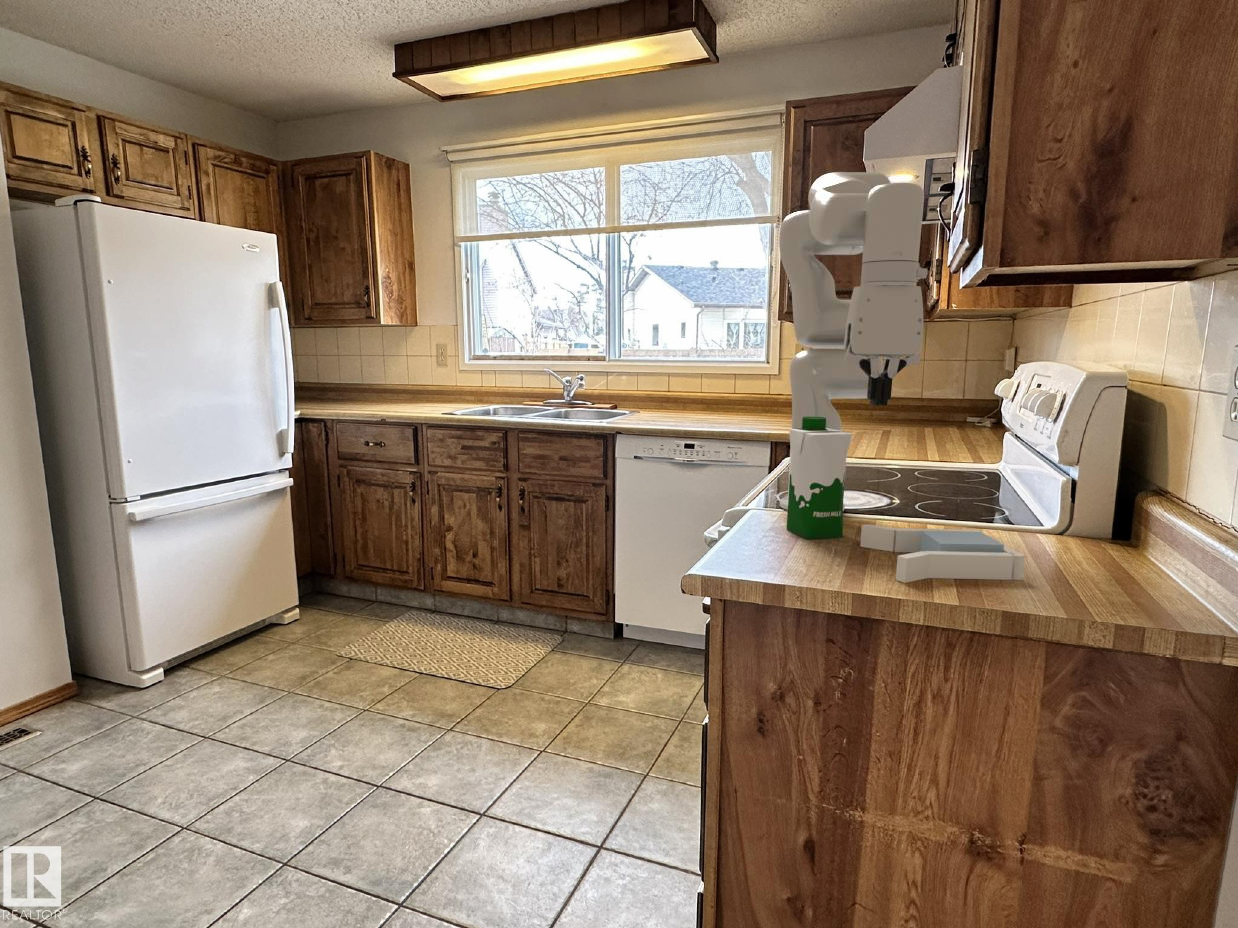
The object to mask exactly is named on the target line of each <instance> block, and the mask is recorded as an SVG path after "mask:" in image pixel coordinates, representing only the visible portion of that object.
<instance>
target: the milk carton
mask: <svg viewBox="0 0 1238 928" xmlns="http://www.w3.org/2000/svg"><path fill="white" fill-rule="evenodd" d="M852 438H853V433H851V432H846V431H844V430H842V429H841V430H834V429H829V428H826V418H824V417H803V418H802V428H796V429H792V428H789V445H790V448H791V460H790V459H789V467H790V479H789V478H788V486H789V497H788V496H787V497H788V510H787V513H786V515H787V516H786V528H785V529H786V530H788V531H790V532H791V533H793V534H796V535H798V536H800V537H802V538H803V539H806V540H816V539H817V540H818V539H830V538H843V537H844V511H843V503H844V496H845V484H846V482H845V481H846V465H847V457H848V453H849V452H848V451H849V448H850V445H851V442H852Z"/></svg>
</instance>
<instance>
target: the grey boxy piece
mask: <svg viewBox="0 0 1238 928" xmlns="http://www.w3.org/2000/svg"><path fill="white" fill-rule="evenodd" d="M987 535H988V534H986V533H984V532H982V531H980V532H965V531H921V542H920V551H923V552H924V551H948V552H997V553H1003V550H1004V545H1005V544H1004V543H1002V542H1000V541H998V540H997V541H996V539H995V538H993V537H992V536H989V535H988V536H987Z"/></svg>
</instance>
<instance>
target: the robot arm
mask: <svg viewBox="0 0 1238 928" xmlns="http://www.w3.org/2000/svg"><path fill="white" fill-rule="evenodd" d="M807 198H808V205H809V208H810V209H806V210H800V211H796V212H793V213H791V214H789V215H787V216H785V218H784V219H783V221H782V223H781V225H780V227H779V229H780V230H779V239H778V241H779V242H778V244H779V245H778V246H779V252H780V253H779V254H780V259H781V263H782V266H783V268H784V271H785V273H786V277H787V279H788V282H789V284H790V288H791V289H790V290H791V300H792V303H791V305H792V316H793V317H792V318H793V327H794V335H795V339H796V341H797V342H798V344H799V345H801V346H803V347H806V348H809V349H805V350H802V351H800V352H798V353H796V354H795V355H794V356H793V358H792V359H791V361H790V364H789V382H790V391H791V392H790V393H791V407H792V408H791V429H796V428H802V418H803V417H824V418H826V428H829V429H834V430H841V431H842V429H843V426H842V420H841V416H840V415H839V413H838V411H837V410H836V409H835V407H834V406H833V404H832V403H831V400H835V399H855V400H856V399H867V400H869V404H870V405H873V406H878V407H879V406H884V407H885V406H888V403H889V402H888V400H891V397H892V390H893V379H894V378H896V376H897V374H898V373H899V372H900V371H902V370H903V369H904V368H905V367H906V368H907V367H911V366H916V365H919V364H920V363H921V360H922V359H921V354H920V352H922V347H923V340H924V339H923V338H924V304H923V295H922V293H923V292H922V286H921V285H920V286H919V285H917V284H918V282H919V280H921V279H926V278H927V276H928V274H929V273H928V272H929V270H928V268H922V267H921V264H920V262H919V259H920V257H919V256H920V249H921V248H920V247H921V235H922V225H923V217H924V216H923V214H924V203H925V192H924V190H923V188H922V187H921V186H920V185H919V184H916V183H911V182H892V183H891V180H890V179H889V178H888V177H887V176H886V175H885V174H884V173H881V172H874V171H873V172H869V171H868V172H866V171H865V172H862V171H861V172H860V171H859V172H858V171H857V172H856V171H855V172H854V171H853V172H851V171H850V172H847V171H845V172H844V171H836V172H834V171H833V172H829V173H826V174H823V175H821V176H820V177H819V178H817V179H816V180H815V181H814V182H813V184H812V185H811V187H810V189H809V192H808V197H807ZM860 254H862V257H861V258H862V259H861V260H862V261H861V272H860V274H861V275H860V286H854V287H853V289H852V294H851V295H852V296H851V299H840V298H838V297H837V294H836V286H835V285H836V284H835V283H836V282H835V278H834V277H833V275H832V274H831V272H830V271H829V269H828V268H827V267H826V265H824V263H822V262H821V261H819V260H818V259H817V257H816V256H815V255H819V256H820V255H821V256H826V255H828V256H830V255H831V256H839V255H840V256H852V255H853V256H854V255H860ZM810 348H811V349H810ZM883 357H884V358H883ZM883 359H884V360H883ZM790 460H791V447H790V450H789V461H790ZM789 479H790V466H789V471H788V480H789ZM788 497H789V485H788V489H787V496H785V497H782V498H781V499H779V507H781V508H782V509H783V510H786V511H788ZM845 506H846V504H845V503H844V502H843V512H844V511H845Z"/></svg>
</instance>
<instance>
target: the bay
mask: <svg viewBox="0 0 1238 928" xmlns="http://www.w3.org/2000/svg"><path fill="white" fill-rule="evenodd" d="M921 531H965V532H981V531H980V530H979V529H961V528H960V529H959V528H957V529H950V528H945V529H944V528H909V527H908V528H905V527H903V528H902V527H901V528H900V527H899V528H898V527H888V526H882V525H873V524H866V523H863V524H862V525H861V532H860V547H862V548H866V549H867V548H868V549H872V550H878V551H879V550H880V551H885V552H886V551H887V552H894V553H905V554H900V555H897V558H896V559H897V560H896V571H895V572H896V573H895V580H896V581H898V582H901V583H903V584H906V583H907V584H908V583H910V582H911V583H912V582H915V581H916V582H917V581H921V580H925V579H951V580H953V579H959V580H960V579H962V580H998V581H999V580H1002V581H1003V580H1004V581H1005V580H1006V581H1011V580H1012V581H1023V575H1024V574H1023V572H1024V566H1025V565H1024V563H1025V555H1023V554H1021V553H1020V552H1018V551H1016V550H1014V549H1013V548H1011V547H1009V546H1007V545H1006V544H1004V550H1003V553H997V552H948V551H924V552H923V551H920V542H921ZM986 535H987V536H989V535H988V534H986ZM995 540H996V539H995ZM996 541H998V540H996Z"/></svg>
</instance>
